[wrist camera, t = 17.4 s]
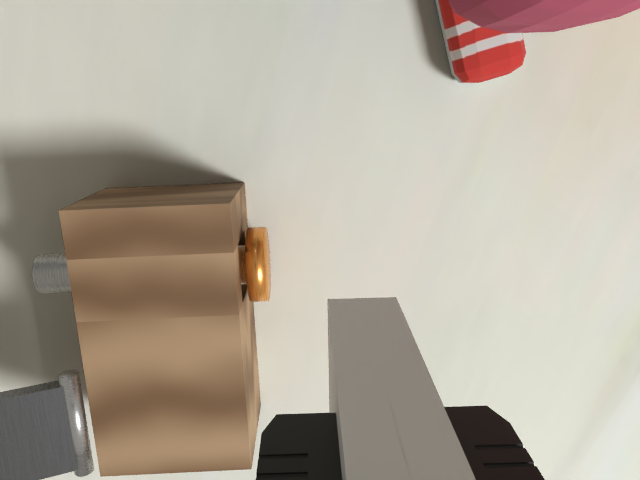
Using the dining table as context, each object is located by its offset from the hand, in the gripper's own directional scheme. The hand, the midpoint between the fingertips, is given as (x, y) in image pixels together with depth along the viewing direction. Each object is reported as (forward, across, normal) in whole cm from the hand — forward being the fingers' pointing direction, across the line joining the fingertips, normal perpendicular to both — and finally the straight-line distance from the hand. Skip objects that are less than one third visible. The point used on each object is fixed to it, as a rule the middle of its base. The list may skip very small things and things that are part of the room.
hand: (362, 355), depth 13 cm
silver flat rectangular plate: (+21, -16, -15) cm, 31 cm away
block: (+29, -10, -10) cm, 33 cm away
